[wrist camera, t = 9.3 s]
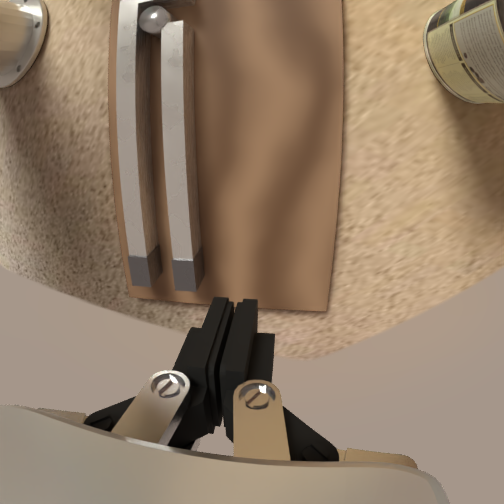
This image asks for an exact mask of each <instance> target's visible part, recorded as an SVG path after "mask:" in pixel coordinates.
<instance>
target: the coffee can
mask: <svg viewBox="0 0 504 504" xmlns="http://www.w3.org/2000/svg"><path fill="white" fill-rule="evenodd" d="M423 43H424V50H425V54H426V57H427V60H428V63H429V65H430V67H431V69H432V71H433V73H434V75H435V76H436V77H437V79H438V80H439V81H440V83H441V84H442V85H443V86H444V87H445V88H446V89H447V90H448V91H449V92H451V93H452V94H453V95H455V96H456V97H458V98H460V99H462V100H464V101H466V102H470V103H475V104H482V103H504V0H456V1H454V2H453V3H451V4H450V5H448V6H446V7H445V8H443V9H441V10H439V11H437V12H435V13H434V14H433V15H432V16H431V17H430V18H429V20H428V21H427V24H426V26H425V30H424V35H423Z"/></svg>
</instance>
